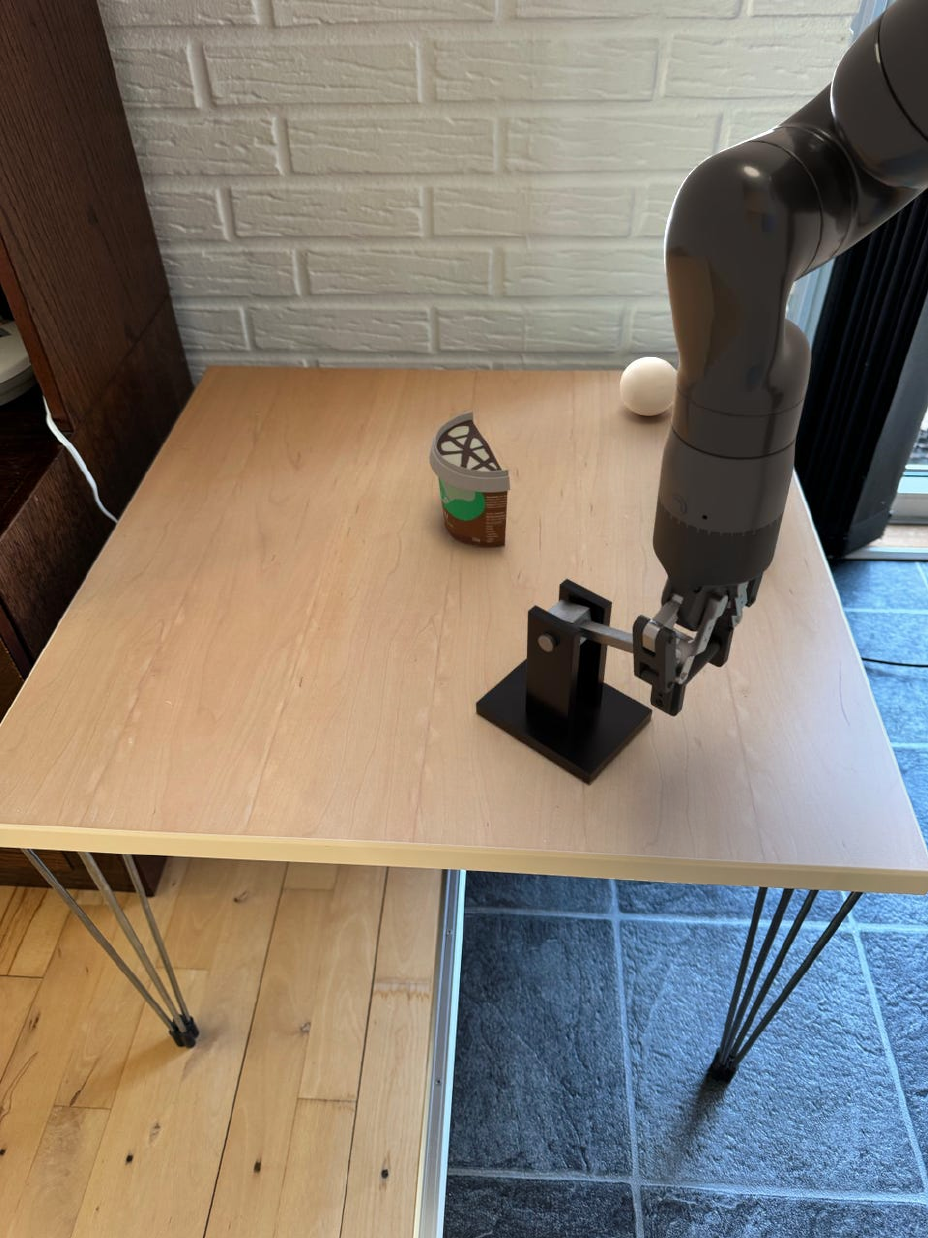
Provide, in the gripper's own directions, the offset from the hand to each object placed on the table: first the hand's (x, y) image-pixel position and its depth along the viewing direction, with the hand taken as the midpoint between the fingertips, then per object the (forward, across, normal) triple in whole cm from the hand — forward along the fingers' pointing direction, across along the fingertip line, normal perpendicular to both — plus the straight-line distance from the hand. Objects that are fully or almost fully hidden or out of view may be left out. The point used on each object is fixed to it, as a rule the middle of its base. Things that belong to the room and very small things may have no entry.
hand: (689, 682), depth 70 cm
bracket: (+11, 0, +11) cm, 16 cm away
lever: (0, 0, +5) cm, 5 cm away
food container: (+11, +14, +35) cm, 40 cm away
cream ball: (+11, +46, +33) cm, 58 cm away
